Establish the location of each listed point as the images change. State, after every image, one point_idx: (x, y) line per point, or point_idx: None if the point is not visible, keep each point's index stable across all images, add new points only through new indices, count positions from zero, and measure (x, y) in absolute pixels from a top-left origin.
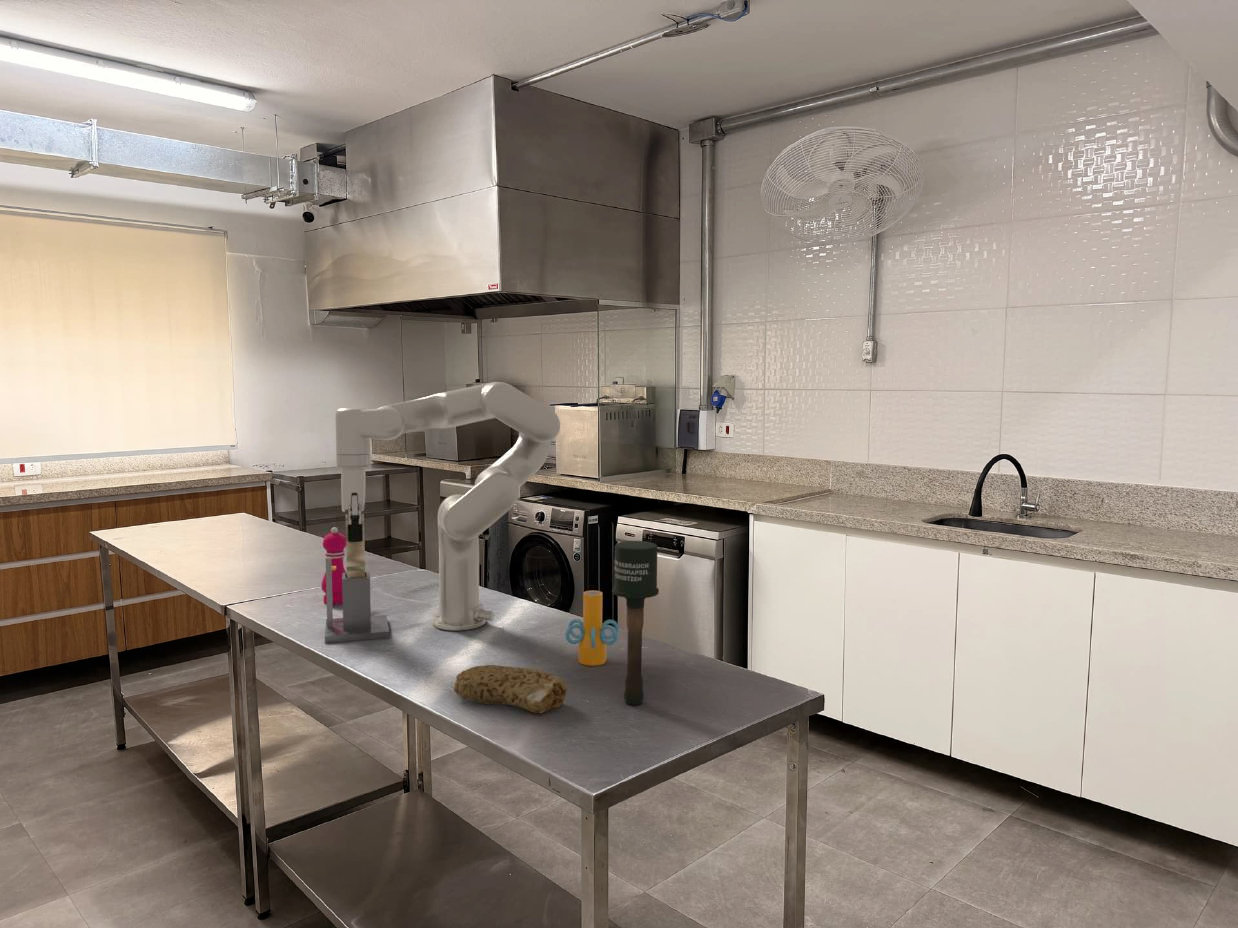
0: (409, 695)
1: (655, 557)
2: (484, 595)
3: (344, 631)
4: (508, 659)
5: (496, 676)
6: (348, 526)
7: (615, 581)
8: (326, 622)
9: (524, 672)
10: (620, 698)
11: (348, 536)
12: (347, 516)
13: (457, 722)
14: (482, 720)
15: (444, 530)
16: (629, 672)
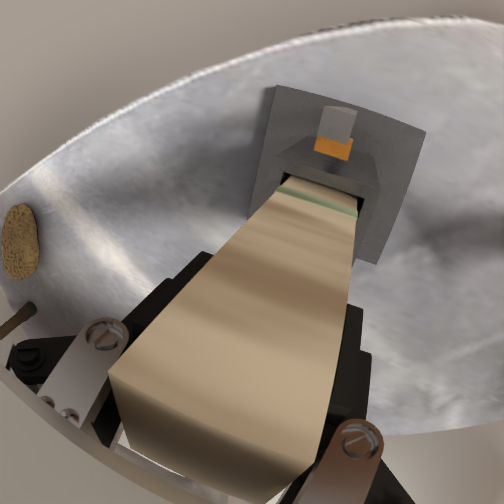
0: (44, 164)
1: None
2: (395, 426)
3: (295, 134)
4: (108, 301)
5: (2, 237)
6: (140, 316)
7: None
8: (396, 121)
9: (5, 259)
10: (37, 305)
11: (185, 269)
12: (154, 407)
13: (9, 186)
14: (10, 205)
15: (189, 486)
16: (15, 314)
